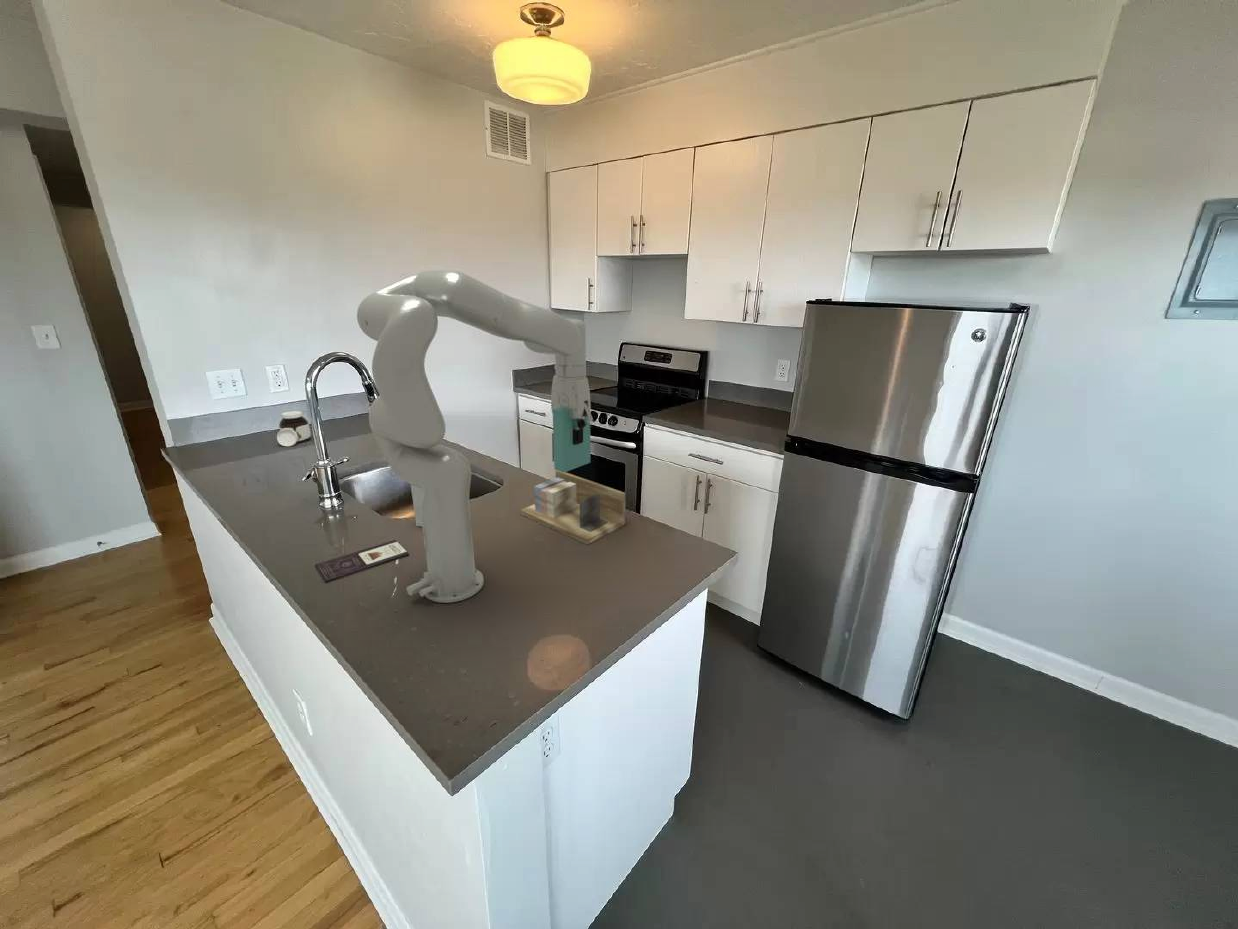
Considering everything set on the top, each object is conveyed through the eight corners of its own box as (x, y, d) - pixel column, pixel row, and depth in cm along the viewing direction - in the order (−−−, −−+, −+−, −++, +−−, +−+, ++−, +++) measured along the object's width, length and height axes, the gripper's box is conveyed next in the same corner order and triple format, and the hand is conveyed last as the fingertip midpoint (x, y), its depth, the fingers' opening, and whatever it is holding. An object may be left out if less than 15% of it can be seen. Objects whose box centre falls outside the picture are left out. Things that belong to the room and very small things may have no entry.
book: (564, 472, 128) (562, 411, 122) (554, 469, 130) (552, 409, 124) (590, 462, 135) (590, 404, 129) (581, 459, 137) (580, 402, 131)
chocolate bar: (314, 564, 115) (395, 539, 126) (315, 568, 115) (395, 543, 126) (325, 581, 108) (408, 553, 120) (326, 585, 109) (409, 557, 120)
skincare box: (436, 528, 133) (430, 476, 128) (414, 526, 134) (407, 475, 129) (449, 514, 141) (444, 465, 136) (429, 513, 142) (422, 464, 137)
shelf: (587, 544, 126) (587, 510, 123) (520, 514, 142) (518, 483, 139) (624, 524, 137) (625, 492, 134) (559, 498, 153) (558, 469, 150)
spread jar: (310, 436, 208) (304, 409, 204) (315, 443, 200) (309, 415, 196) (275, 441, 200) (269, 413, 197) (280, 449, 192) (273, 419, 188)
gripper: (536, 369, 126) (539, 438, 132) (585, 377, 116) (585, 452, 122) (558, 365, 131) (560, 432, 138) (606, 373, 121) (605, 445, 128)
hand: (572, 441), depth 130 cm, fingers closed on book, 3 cm apart
